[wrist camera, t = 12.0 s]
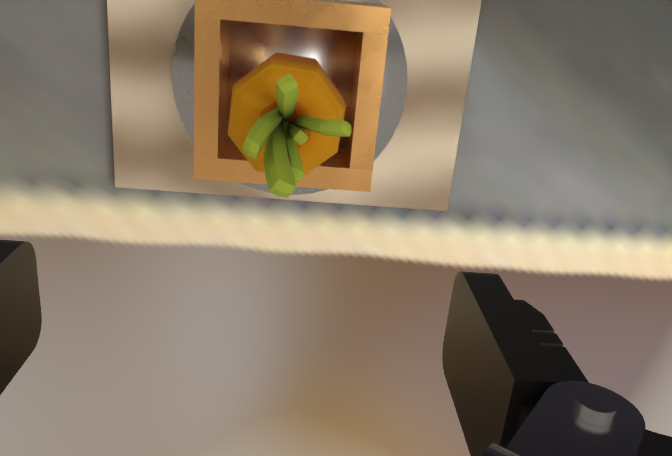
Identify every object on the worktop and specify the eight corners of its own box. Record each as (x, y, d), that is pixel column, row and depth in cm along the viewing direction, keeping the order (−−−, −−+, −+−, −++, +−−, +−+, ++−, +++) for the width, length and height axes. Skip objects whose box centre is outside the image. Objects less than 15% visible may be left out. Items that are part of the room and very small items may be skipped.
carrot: (276, 18, 34) (252, 42, 20) (355, 68, 35) (384, 125, 21) (231, 97, 35) (179, 172, 21) (307, 143, 36) (306, 244, 22)
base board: (110, -72, 33) (103, -73, 32) (481, -35, 35) (487, -35, 34) (120, 181, 39) (115, 187, 38) (443, 204, 40) (446, 211, 39)
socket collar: (173, -56, 33) (152, -59, 28) (421, -32, 34) (436, -32, 29) (174, 183, 38) (157, 210, 33) (391, 199, 38) (401, 228, 34)
